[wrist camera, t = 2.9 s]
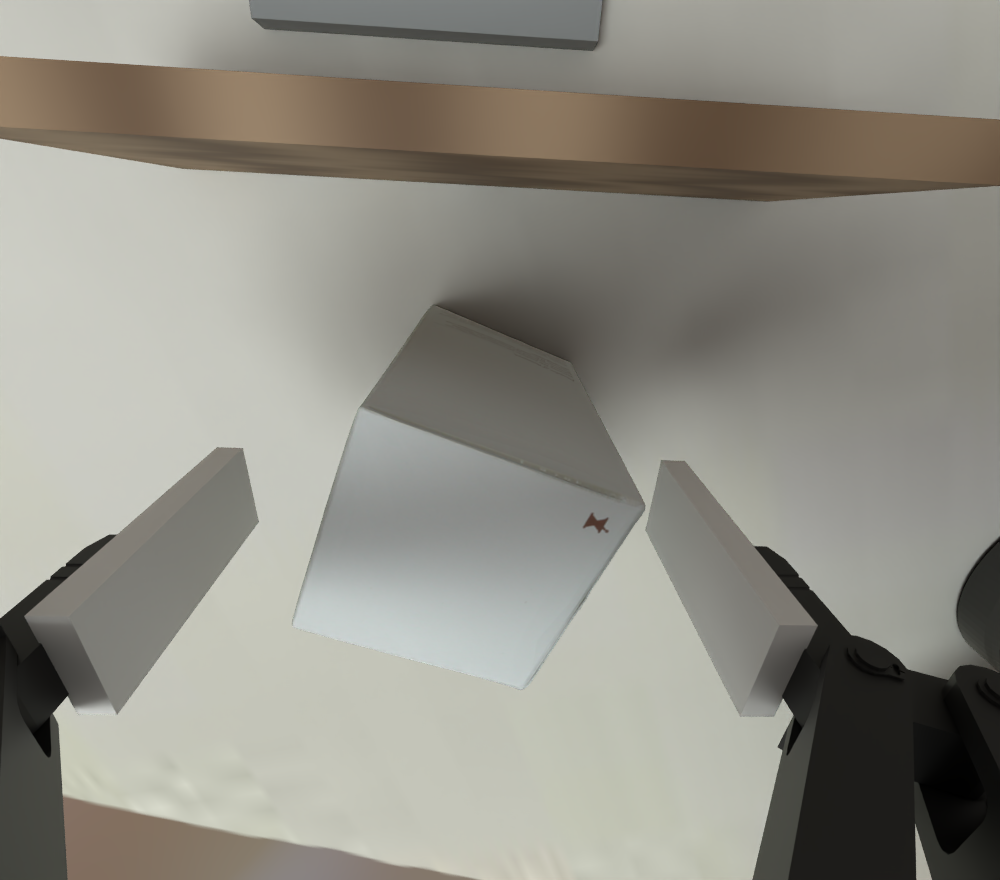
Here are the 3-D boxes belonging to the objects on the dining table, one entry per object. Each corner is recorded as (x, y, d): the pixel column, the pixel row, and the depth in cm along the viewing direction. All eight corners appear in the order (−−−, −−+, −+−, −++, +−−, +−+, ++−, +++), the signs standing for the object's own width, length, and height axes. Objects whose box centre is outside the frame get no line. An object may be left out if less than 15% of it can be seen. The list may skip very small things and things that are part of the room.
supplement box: (430, 298, 21) (357, 393, 10) (575, 361, 22) (661, 510, 11) (381, 435, 24) (280, 631, 12) (512, 483, 25) (529, 701, 14)
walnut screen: (775, 168, 19) (1032, 121, 10) (766, 201, 19) (1004, 185, 10) (175, 132, 18) (-139, 47, 9) (182, 168, 19) (-109, 120, 10)
